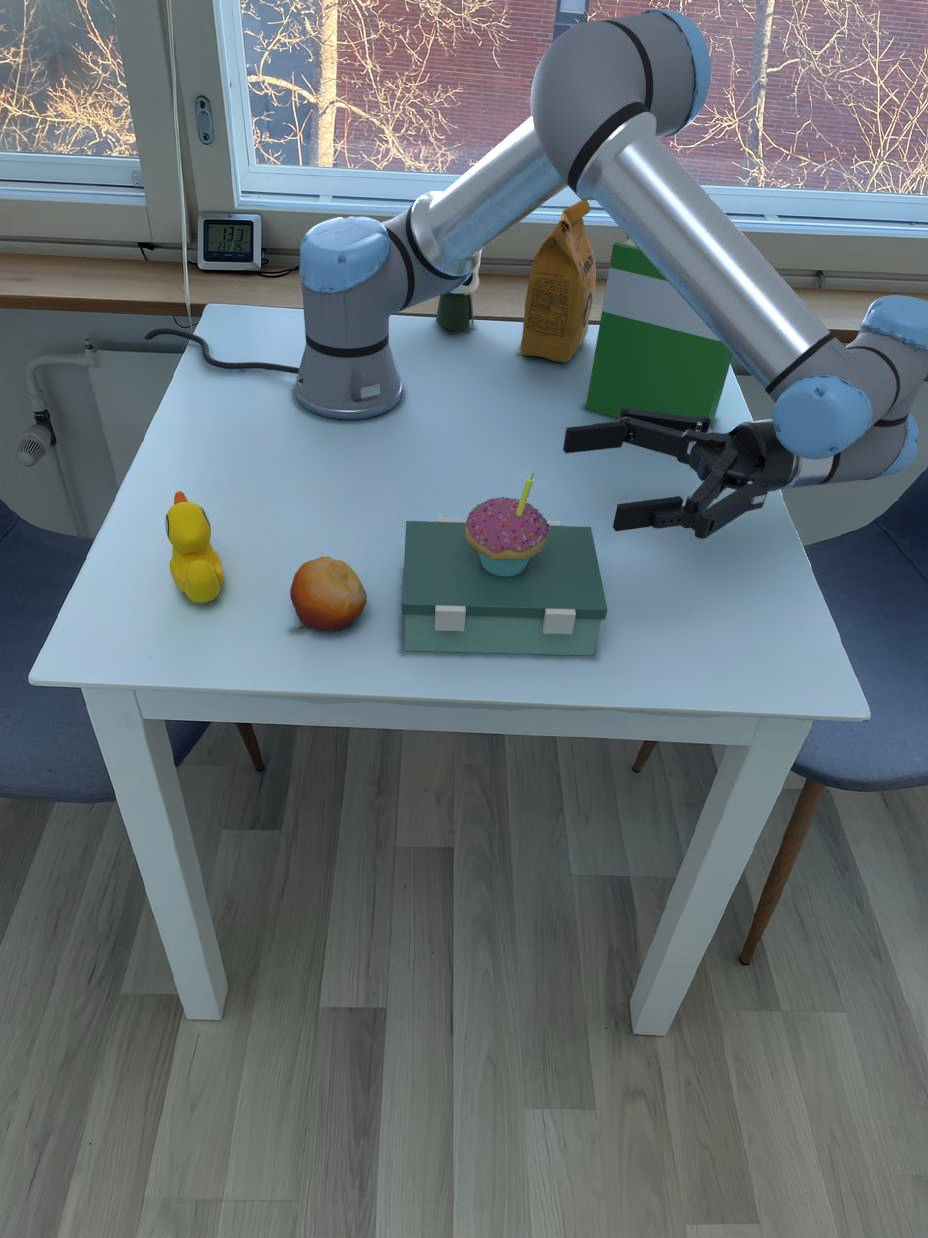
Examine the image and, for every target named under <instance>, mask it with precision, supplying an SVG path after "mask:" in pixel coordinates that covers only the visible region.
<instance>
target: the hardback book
mask: <svg viewBox="0 0 928 1238" xmlns="http://www.w3.org/2000/svg"><path fill="white" fill-rule="evenodd" d="M610 255H611V256H610V261H609V267H608V273H607V280H606V285H605V290H604V297H603V303H602V310H601V314H600V321H599V326H598V332H597V338H596V344H595V351H594V356H593V361H592V367H591V373H590V380H589V384H588V385H589V386H588V391H587V397H586V403H585V407H584V408H585V409H586V410H589V411H592V412H596V413H599V414H602V415H606V416H609V417H612V418H617V419H618V418H619V414H620V409H621V408H623V407H627V408H634V409H641V410H647V411H654V412H661V413H668V414H675V415H682V416H688V417H693V416H707V417H709V418H711V423H710V426H709V427H710V428H711V426H712V424H713V422H714V421H715V418H716V414H717V412H718V408H719V405H720V400H721V398H722V394H723V390H724V387H725V383H726V379H727V376H728V373H729V370H730V366H731V362H732V359H733V356H734V355H733V354H732V353H731V352H730V350H729V349H728V348H727V347H726V346H725V345H724V344H723V343H722V341H721V340H720V339H719V338H718V337H717V336H716V335H715V334H714V332H713V331H712V330H711V329H710V328H709V327H708V326H707V325H706V323H705V322H704V321H703V320H702V319H701V318H700V317H699V316H698V314H697V313H696V312H695V311H694V310H693V309H692V308H691V307H690V305H689V304H688V303H687V302H686V301H685V300H684V299H683V298H682V296H681V295H680V294H679V293H678V292H677V291H676V290H675V289H674V287H673V286H672V285H671V284H670V283H669V282H668V281H667V279H666V278H665V277H664V276H663V275H662V274H661V273H660V272H659V270H658V269H657V268H656V267H655V266H654V265H653V264H652V263H651V261H650V260H649V259H648V258H647V257H646V256H645V255H644V254H643V252H642V251H641V250H640V249H639V248H638V247H637V246H636V245H635V243H634V242H633V241H632V240H631V239H630V238H629V237H628V236H627V238H626V241H625V242H624V243H622V242H618V241H615V242H614V243H613V244H612V249H611V254H610Z"/></svg>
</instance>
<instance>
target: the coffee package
mask: <svg viewBox="0 0 928 1238" xmlns="http://www.w3.org/2000/svg"><path fill="white" fill-rule="evenodd" d="M591 210H592V207H591V205H590V203H589V201H583V200H581V199H580V200H579V201H577V202H576V203H574V204H572V205H571V206H569V207H567V208H565V209H563V210H562V213H561V215H560V219H559V221H558V223H557V224H556V227H555V228H553V230H552V231H551V233H550V234H549V235H548V236H547V237H546V239H545V240H544V241H543V242H542V243H541V244H540V246H539V248H538V250H537V252H536V254H535V255H534V258H533V262H532V266H531V269H530V274H529V279H528V282H527V287H526V294H525V298H524V312H523V313H524V315H523V327H522V335H521V341H520V349H519V353H520V354H521V355H523V356H526V357H527V356H531V357H541V358H542V357H543V358H545V359H547V360H550V361H553V362H564V363H568V362H569V361H570V360H571V359H572V357H573V356H574V355H575V353H576V352H577V351H578V349H579V348H580V346H581V344H582V343H583V341H584V339H585V337H587V333H588V331H589V322H590V321H589V320H590V316H591V311H592V306H593V300H594V299H593V298H594V293H595V288H596V282H597V281H596V280H597V268H596V267H597V266H596V258H595V255H594V252H593V249H592V246H591V243H590V241H589V238H588V237H587V235H586V228H585V222H584V218H583V217H584V216H586V215H588V214H589V213H590V211H591Z"/></svg>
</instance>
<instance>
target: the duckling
mask: <svg viewBox="0 0 928 1238" xmlns="http://www.w3.org/2000/svg"><path fill="white" fill-rule="evenodd" d="M164 528H165V533H166V536H167V538H168V542H169V543H170V545H171V546H172V549H171V550H172V551H171V553H172V554H171V556H172V557H171V559H170V561H169V570H170V571H169V572H170V575H171V577H172V580H173V581H174V583H175V585H176V587H177V588H178V590H179V591H180V592H182V593H185V596H186V597H187V598H188V599H189V600H190V601H192V602H193V603H196V604H205V603H208V602H212V601H213V600H215V599H216V598H217V597H218V596H219V594H220V589H221V586H222V585H224V584H225V574H224V568H223V565H222V562H221V558H220V556H219V554H218V552H217V551H216V550H214V547H213V545H212V544H211V542H210V541H211V538H212V527H211V521H210V518H209V516H208V514H207V512H206V510H205V509H204V508H203V507H202V506H201V505H199V504H198V503H195V502H192V501H189V500H188V499H187V497H186V495H185V493H184V492H183V491H181V490H179V491H176V492H175V494H174V497H173V505H172V506H171V507H169V509H168V511H167V513H166V515H165V519H164Z"/></svg>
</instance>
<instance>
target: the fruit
mask: <svg viewBox="0 0 928 1238" xmlns="http://www.w3.org/2000/svg"><path fill="white" fill-rule="evenodd" d="M367 596H368V595H367V592H366V590H365V587H364V585H363V582H362V581H361V579H360V578H359V576H358V574H357V573H356V571H355V570H354V569H353V568H352V567H351V565H349V564H347V562H345V561H342V560H340V559H335V558H332V557H331V556H320V557H318V558H313V559H311V560H308V561H305V562H304V563H302V564H301V566H299V568H297V570H296V572H295V573H294V576H293V579H292V583H291V586H290V590H289V597H290V601H291V602H292V606H293V609H294V611H295V615H296V616H297V617H298V621H299V625H297V627H296V628H295V629H296V631H299V630H300V629H301V628H302V627H303V626H306V627H308V628H311V629H314V630H318V631H322V632H323V631H325V632H326V631H327V632H328V631H341V630H345V629H346V628H348V627H349V626H351V625H352V624H353V623H354V622H355V621H356V620H357V619H358V618H359V617H360V615H361V614H362V612H363V610H364V608H365V605H366V604H367V601H368V600H367Z"/></svg>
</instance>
